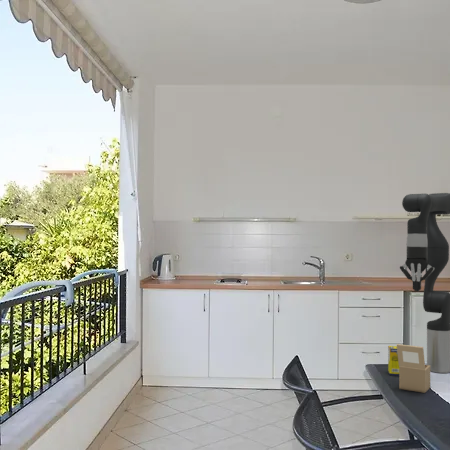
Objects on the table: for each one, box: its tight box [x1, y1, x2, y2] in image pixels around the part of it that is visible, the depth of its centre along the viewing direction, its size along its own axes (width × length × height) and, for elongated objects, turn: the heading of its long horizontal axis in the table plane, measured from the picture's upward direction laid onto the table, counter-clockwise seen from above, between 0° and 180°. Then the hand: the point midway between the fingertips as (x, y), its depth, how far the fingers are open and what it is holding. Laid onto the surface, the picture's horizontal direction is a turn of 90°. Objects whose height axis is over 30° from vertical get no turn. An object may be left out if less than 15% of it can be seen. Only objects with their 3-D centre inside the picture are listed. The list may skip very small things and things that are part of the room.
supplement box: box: [387, 345, 400, 377], centre depth 212 cm, size 6×6×11 cm
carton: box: [398, 364, 431, 394], centre depth 192 cm, size 9×9×8 cm
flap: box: [396, 343, 426, 370], centre depth 187 cm, size 9×9×1 cm
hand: (416, 291), depth 199 cm, fingers closed
